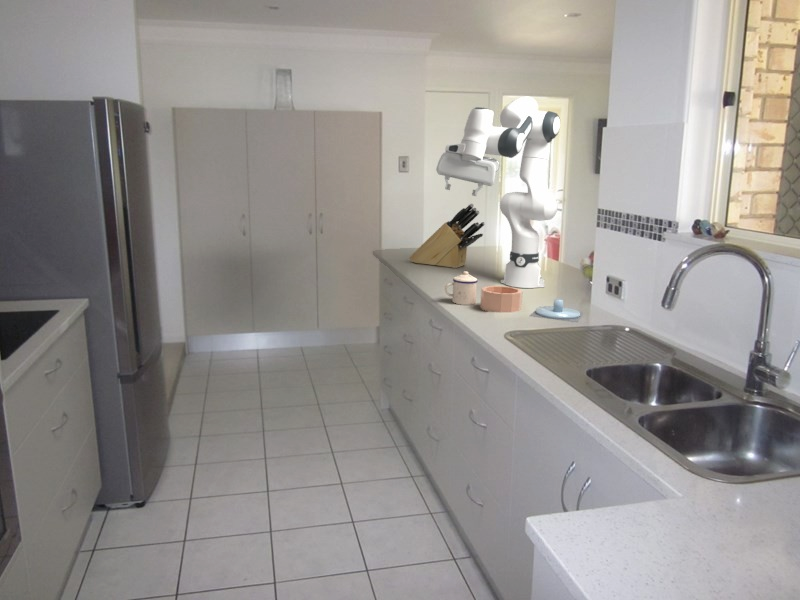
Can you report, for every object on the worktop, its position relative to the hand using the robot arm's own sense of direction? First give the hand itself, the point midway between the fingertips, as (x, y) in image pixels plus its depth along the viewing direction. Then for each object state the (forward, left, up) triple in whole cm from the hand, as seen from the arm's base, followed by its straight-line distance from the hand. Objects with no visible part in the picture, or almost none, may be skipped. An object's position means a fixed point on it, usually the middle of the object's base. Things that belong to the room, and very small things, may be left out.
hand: (460, 192), depth 221 cm
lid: (-10, +34, -40) cm, 54 cm away
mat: (-10, +34, -41) cm, 54 cm away
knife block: (-85, -35, -41) cm, 100 cm away
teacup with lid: (-11, -2, -41) cm, 43 cm away
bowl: (-9, +14, -41) cm, 44 cm away
